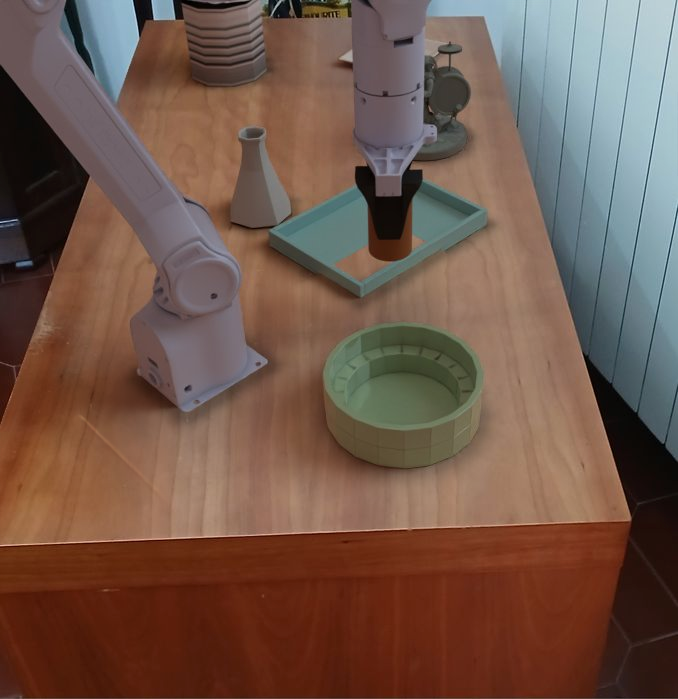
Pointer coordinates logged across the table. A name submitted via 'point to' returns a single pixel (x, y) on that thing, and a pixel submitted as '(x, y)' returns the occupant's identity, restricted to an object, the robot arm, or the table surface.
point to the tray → (352, 233)
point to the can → (225, 41)
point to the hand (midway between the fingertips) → (389, 223)
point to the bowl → (403, 394)
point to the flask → (257, 184)
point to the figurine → (444, 106)
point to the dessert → (430, 49)
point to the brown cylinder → (391, 241)
